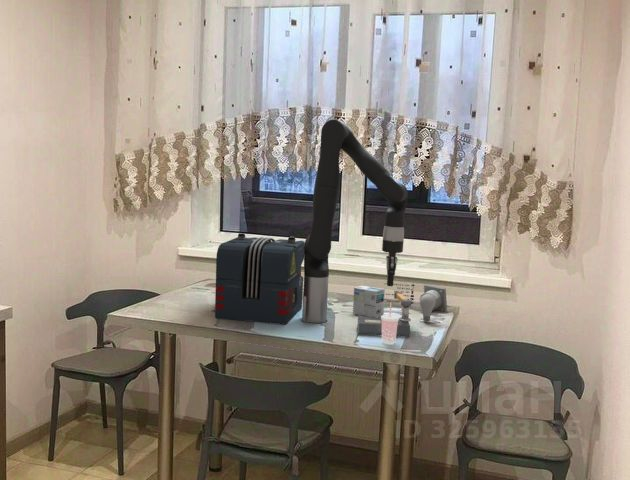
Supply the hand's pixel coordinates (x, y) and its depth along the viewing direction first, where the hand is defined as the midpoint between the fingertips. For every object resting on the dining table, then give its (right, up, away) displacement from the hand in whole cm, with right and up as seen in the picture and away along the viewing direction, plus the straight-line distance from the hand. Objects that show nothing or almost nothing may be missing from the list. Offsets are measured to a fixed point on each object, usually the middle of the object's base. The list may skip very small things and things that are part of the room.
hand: (389, 285), depth 246 cm
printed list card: (+15, -12, +37) cm, 41 cm away
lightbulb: (+16, -15, +14) cm, 26 cm away
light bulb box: (-6, -13, +22) cm, 27 cm away
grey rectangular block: (-3, -16, -3) cm, 17 cm away
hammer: (+5, -6, +4) cm, 9 cm away
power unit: (-49, -12, +17) cm, 53 cm away
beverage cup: (-2, -19, -16) cm, 24 cm away
